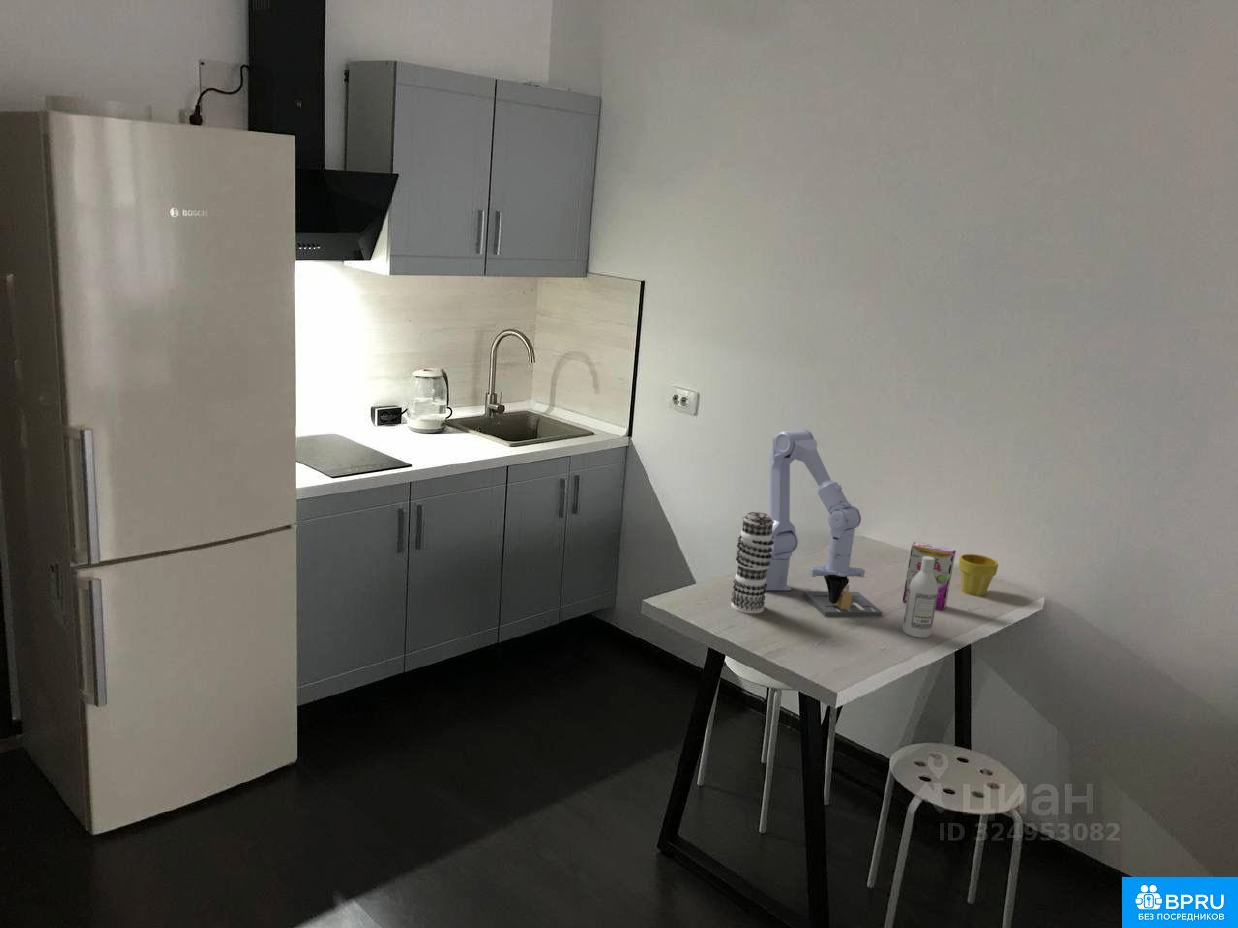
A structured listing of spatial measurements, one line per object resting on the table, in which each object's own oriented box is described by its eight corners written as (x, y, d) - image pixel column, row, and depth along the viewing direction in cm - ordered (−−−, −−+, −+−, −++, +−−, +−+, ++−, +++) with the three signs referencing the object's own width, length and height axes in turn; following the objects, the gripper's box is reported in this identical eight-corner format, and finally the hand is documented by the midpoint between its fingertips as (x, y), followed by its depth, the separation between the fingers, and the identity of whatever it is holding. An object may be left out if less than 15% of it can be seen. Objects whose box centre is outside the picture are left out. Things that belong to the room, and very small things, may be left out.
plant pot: (987, 601, 289) (993, 568, 287) (950, 591, 295) (955, 558, 292) (996, 592, 298) (1002, 560, 295) (960, 583, 303) (966, 551, 301)
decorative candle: (770, 606, 269) (782, 514, 264) (757, 616, 261) (769, 522, 256) (737, 598, 273) (748, 507, 268) (724, 607, 265) (735, 514, 260)
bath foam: (936, 637, 259) (949, 561, 254) (915, 639, 255) (927, 563, 251) (917, 626, 265) (929, 552, 260) (896, 629, 262) (908, 554, 257)
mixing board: (825, 616, 266) (825, 611, 266) (802, 595, 280) (803, 591, 280) (882, 616, 270) (882, 612, 269) (857, 595, 284) (857, 591, 283)
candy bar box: (901, 602, 282) (910, 545, 278) (905, 597, 286) (914, 540, 283) (943, 611, 278) (953, 553, 274) (946, 606, 282) (956, 549, 278)
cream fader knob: (838, 598, 276) (840, 584, 275) (831, 592, 280) (834, 578, 280) (847, 598, 277) (849, 584, 276) (840, 592, 281) (842, 578, 280)
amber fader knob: (841, 609, 268) (843, 594, 268) (833, 602, 273) (836, 587, 272) (849, 609, 269) (852, 594, 268) (842, 602, 273) (844, 588, 272)
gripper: (819, 557, 262) (812, 607, 265) (872, 558, 265) (865, 608, 268) (809, 548, 268) (802, 597, 271) (860, 549, 271) (853, 598, 274)
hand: (832, 602), depth 270 cm, fingers closed
